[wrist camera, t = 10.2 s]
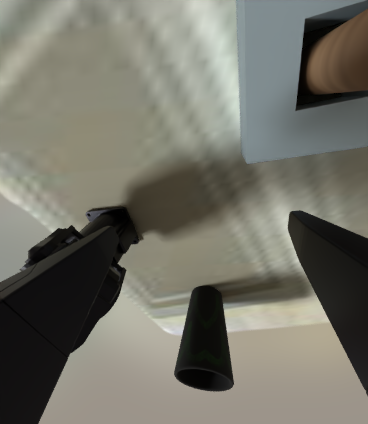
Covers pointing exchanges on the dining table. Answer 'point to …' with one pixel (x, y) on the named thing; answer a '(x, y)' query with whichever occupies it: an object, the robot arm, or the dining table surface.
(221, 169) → the dining table surface
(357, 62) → the dowel
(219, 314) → the cup
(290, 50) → the socket
